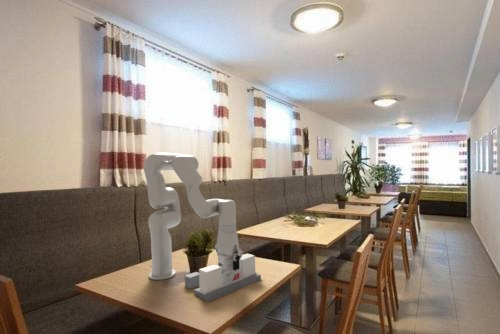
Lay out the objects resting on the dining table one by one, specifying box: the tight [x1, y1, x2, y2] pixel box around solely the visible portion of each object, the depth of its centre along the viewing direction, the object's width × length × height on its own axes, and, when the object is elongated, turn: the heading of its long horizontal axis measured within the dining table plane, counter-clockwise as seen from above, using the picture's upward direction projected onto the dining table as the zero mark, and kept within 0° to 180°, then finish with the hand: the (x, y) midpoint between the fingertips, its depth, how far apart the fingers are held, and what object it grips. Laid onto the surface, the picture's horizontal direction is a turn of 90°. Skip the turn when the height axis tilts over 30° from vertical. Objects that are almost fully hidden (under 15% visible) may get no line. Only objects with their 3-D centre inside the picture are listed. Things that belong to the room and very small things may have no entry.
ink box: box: [217, 254, 239, 284], centre depth 131 cm, size 9×5×12 cm, turn 134°
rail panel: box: [193, 253, 262, 303], centre depth 131 cm, size 10×30×11 cm, turn 135°
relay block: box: [184, 271, 199, 290], centre depth 133 cm, size 4×6×5 cm, turn 135°
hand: (228, 266), depth 131 cm, fingers open, 9 cm apart
